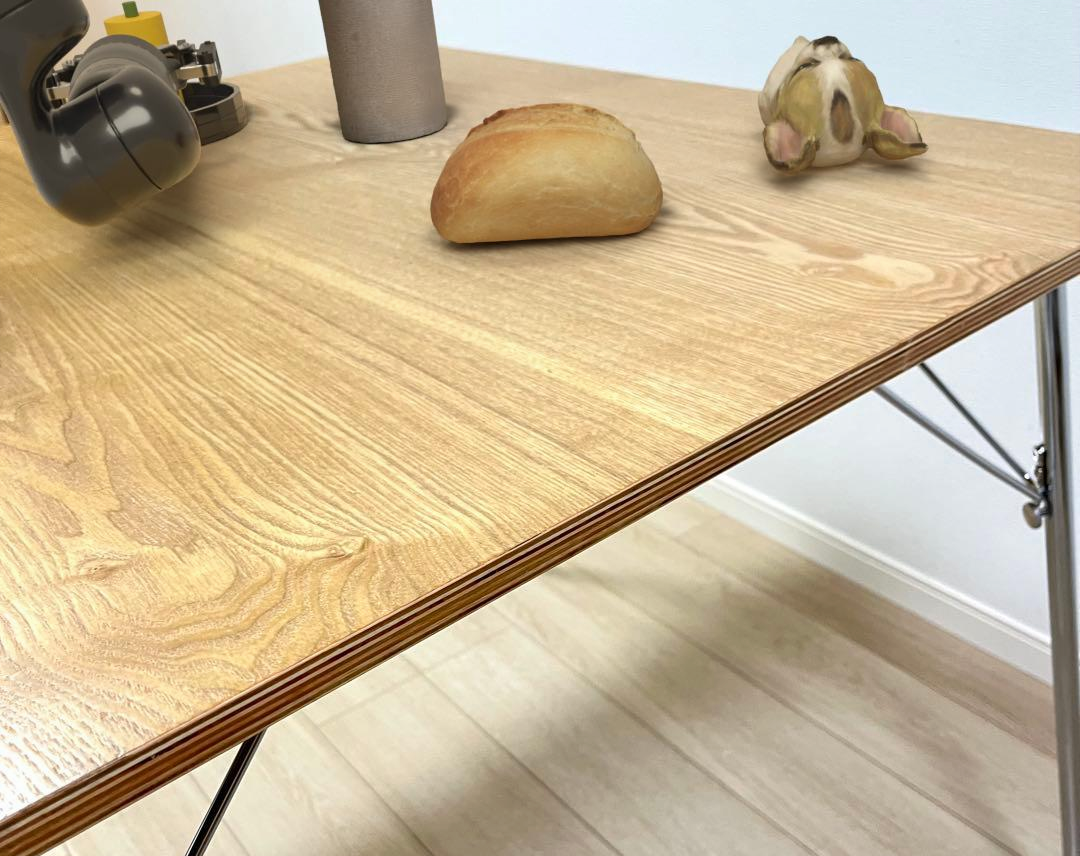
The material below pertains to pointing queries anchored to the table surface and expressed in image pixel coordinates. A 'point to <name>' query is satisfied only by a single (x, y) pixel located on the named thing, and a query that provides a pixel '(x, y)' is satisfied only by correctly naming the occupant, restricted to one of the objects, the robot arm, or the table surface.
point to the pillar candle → (384, 68)
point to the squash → (139, 26)
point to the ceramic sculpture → (829, 110)
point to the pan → (215, 109)
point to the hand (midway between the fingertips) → (134, 59)
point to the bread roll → (546, 178)
